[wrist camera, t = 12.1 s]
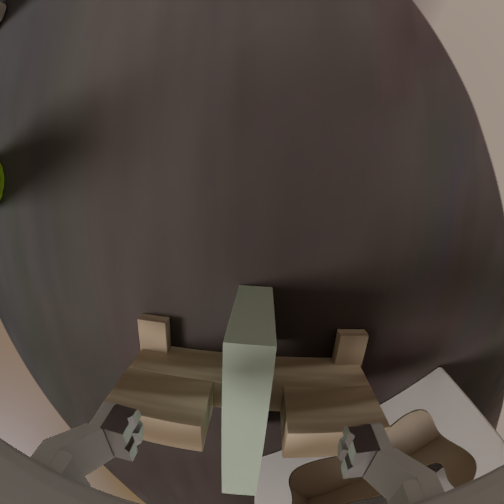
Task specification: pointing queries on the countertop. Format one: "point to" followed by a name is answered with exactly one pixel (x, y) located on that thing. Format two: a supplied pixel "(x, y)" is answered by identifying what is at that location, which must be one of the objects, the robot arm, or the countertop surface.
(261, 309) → the grey-green rectangular slab
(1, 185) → the soap dispenser
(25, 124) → the countertop surface
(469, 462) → the gable box
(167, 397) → the wooden peg bench
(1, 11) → the travel mug
